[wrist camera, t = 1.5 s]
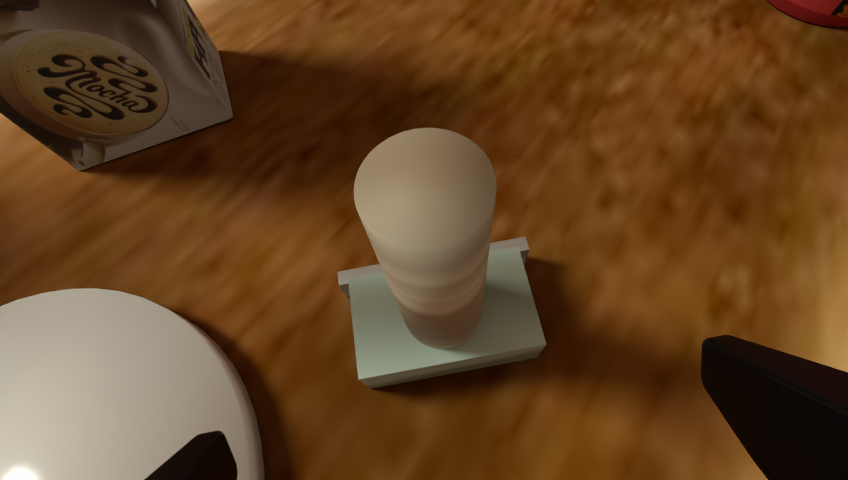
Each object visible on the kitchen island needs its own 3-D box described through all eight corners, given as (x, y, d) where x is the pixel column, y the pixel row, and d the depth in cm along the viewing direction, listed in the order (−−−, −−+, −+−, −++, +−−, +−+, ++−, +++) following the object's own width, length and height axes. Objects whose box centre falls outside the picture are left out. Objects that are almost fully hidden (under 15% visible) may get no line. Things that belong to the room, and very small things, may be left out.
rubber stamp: (548, 355, 19) (647, 233, 9) (359, 391, 19) (236, 310, 9) (520, 255, 21) (573, 61, 11) (348, 287, 21) (237, 123, 11)
